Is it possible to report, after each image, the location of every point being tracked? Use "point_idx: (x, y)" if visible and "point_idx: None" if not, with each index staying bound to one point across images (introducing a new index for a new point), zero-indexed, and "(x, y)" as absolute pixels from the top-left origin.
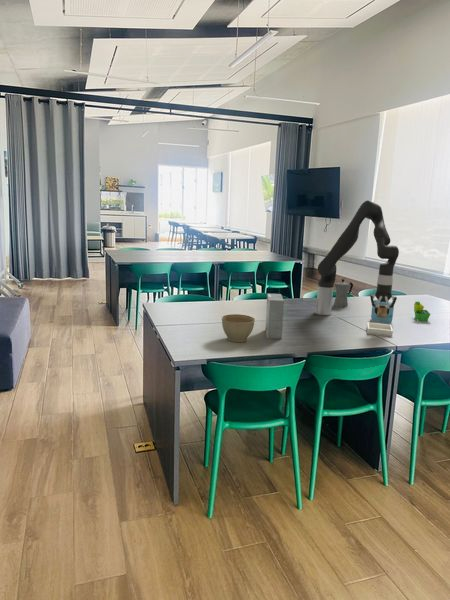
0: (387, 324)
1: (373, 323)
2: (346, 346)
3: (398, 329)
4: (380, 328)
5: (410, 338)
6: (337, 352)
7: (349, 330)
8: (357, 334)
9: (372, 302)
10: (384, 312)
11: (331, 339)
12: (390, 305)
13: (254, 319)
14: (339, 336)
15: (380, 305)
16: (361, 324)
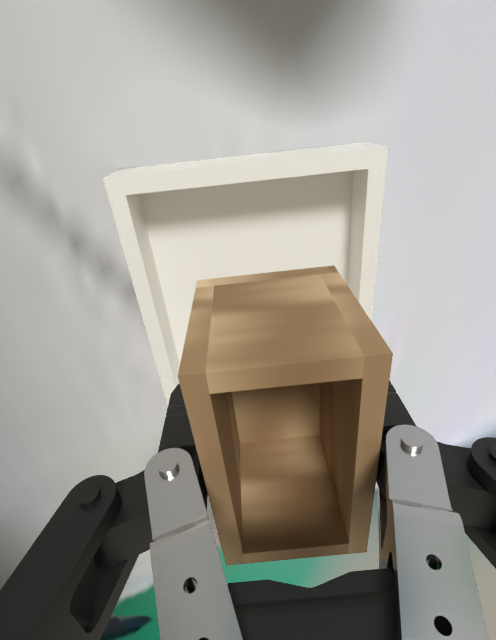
0: (340, 165)
1: (178, 188)
2: (134, 575)
3: (459, 63)
4: (261, 204)
5: (479, 339)
6: (127, 621)
7: (27, 351)
8: (117, 414)
9: (85, 614)
10: (316, 493)
11: (32, 537)
12: (461, 514)
13: None
14: (40, 488)
15: (249, 386)
16: (18, 39)
